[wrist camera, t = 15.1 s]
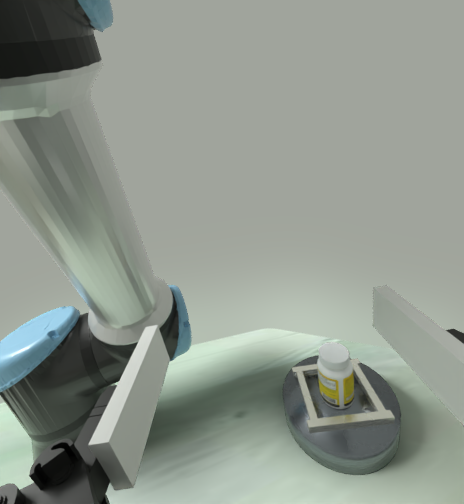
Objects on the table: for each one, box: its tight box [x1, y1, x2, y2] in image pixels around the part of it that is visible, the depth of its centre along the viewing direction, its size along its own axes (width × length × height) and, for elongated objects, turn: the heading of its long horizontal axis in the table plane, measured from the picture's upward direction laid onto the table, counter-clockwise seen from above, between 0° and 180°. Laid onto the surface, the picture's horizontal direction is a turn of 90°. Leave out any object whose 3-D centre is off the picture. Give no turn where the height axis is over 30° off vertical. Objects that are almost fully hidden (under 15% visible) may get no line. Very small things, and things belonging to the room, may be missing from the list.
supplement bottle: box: [317, 342, 354, 409], centre depth 35 cm, size 5×5×8 cm
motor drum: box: [283, 355, 401, 475], centre depth 37 cm, size 16×16×5 cm
